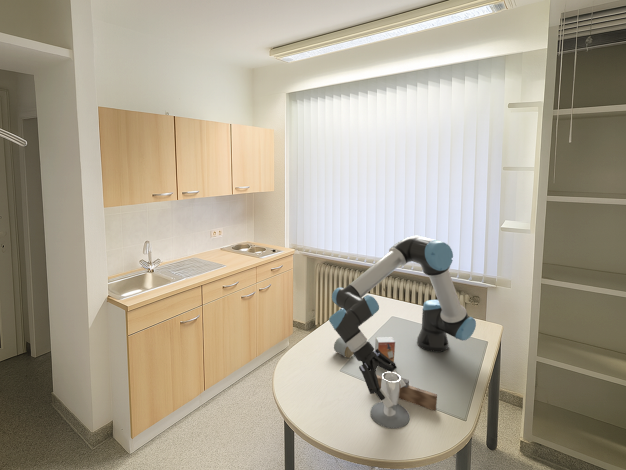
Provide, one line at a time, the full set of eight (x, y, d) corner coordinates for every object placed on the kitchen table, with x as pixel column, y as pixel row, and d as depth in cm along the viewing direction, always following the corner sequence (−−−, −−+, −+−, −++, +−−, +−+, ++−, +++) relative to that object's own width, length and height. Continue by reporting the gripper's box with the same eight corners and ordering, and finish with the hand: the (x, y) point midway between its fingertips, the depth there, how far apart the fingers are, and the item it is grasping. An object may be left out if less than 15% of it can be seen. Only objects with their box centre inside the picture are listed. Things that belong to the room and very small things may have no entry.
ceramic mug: (345, 360, 175) (345, 345, 173) (333, 353, 181) (333, 339, 179) (360, 353, 181) (361, 339, 180) (348, 347, 187) (349, 333, 186)
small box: (377, 363, 172) (378, 342, 170) (374, 357, 178) (375, 336, 176) (394, 363, 173) (395, 342, 171) (390, 356, 178) (392, 336, 176)
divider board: (370, 389, 153) (370, 371, 152) (372, 386, 155) (373, 368, 154) (434, 411, 140) (436, 392, 138) (436, 408, 142) (437, 389, 140)
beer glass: (377, 408, 141) (379, 371, 138) (395, 407, 141) (397, 371, 138) (382, 420, 134) (384, 383, 131) (401, 419, 134) (403, 382, 131)
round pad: (404, 403, 145) (404, 401, 144) (413, 428, 131) (413, 427, 131) (368, 402, 145) (368, 401, 145) (373, 427, 131) (373, 426, 131)
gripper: (366, 338, 152) (400, 383, 147) (338, 366, 131) (376, 419, 126) (379, 329, 148) (415, 374, 143) (352, 356, 127) (392, 411, 123)
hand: (397, 396), depth 135 cm, fingers open, 13 cm apart
